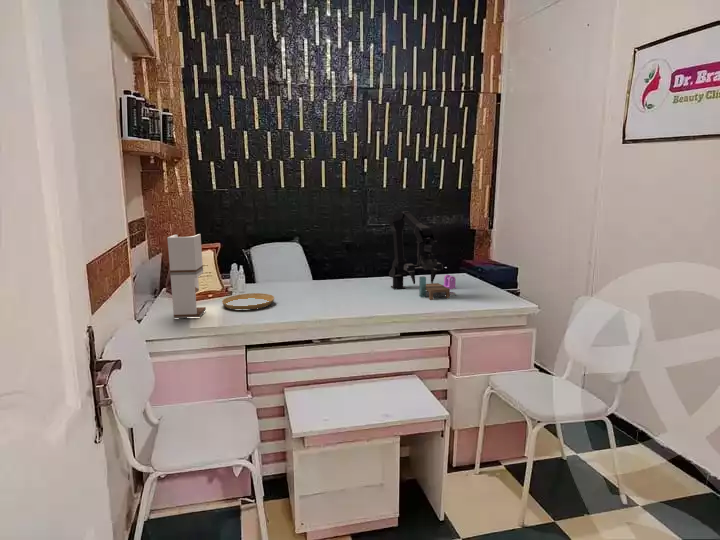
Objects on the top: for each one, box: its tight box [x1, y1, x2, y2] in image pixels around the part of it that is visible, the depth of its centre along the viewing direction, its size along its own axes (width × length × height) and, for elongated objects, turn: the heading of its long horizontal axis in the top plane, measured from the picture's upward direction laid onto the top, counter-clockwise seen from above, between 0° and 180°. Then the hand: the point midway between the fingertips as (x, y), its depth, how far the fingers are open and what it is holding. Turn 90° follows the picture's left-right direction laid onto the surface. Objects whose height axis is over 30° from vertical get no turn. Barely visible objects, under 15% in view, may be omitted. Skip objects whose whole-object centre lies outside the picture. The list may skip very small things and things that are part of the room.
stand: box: [426, 282, 451, 301], centre depth 243 cm, size 15×10×5 cm, turn 13°
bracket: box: [442, 274, 457, 290], centre depth 259 cm, size 13×6×7 cm, turn 110°
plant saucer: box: [221, 292, 275, 310], centre depth 229 cm, size 24×24×3 cm
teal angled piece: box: [418, 276, 446, 298], centre depth 243 cm, size 2×14×10 cm, turn 103°
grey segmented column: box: [166, 233, 206, 319], centre depth 209 cm, size 11×11×35 cm
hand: (423, 283), depth 241 cm, fingers open, 9 cm apart
